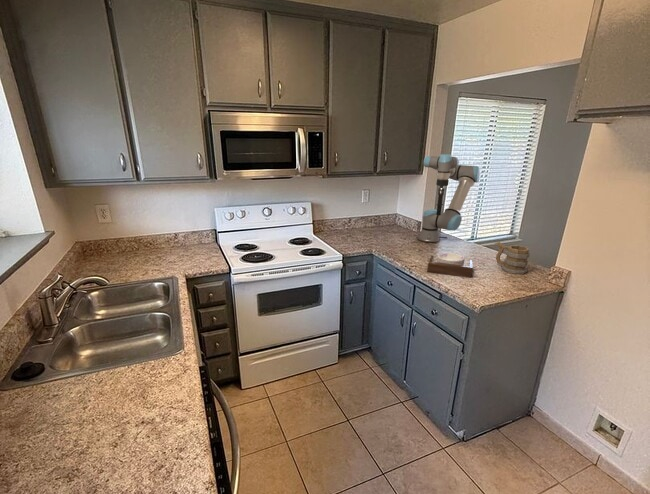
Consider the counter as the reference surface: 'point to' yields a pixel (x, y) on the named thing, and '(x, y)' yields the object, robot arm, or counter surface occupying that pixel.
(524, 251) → the tankard
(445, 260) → the paper bowls
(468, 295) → the counter surface
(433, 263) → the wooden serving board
